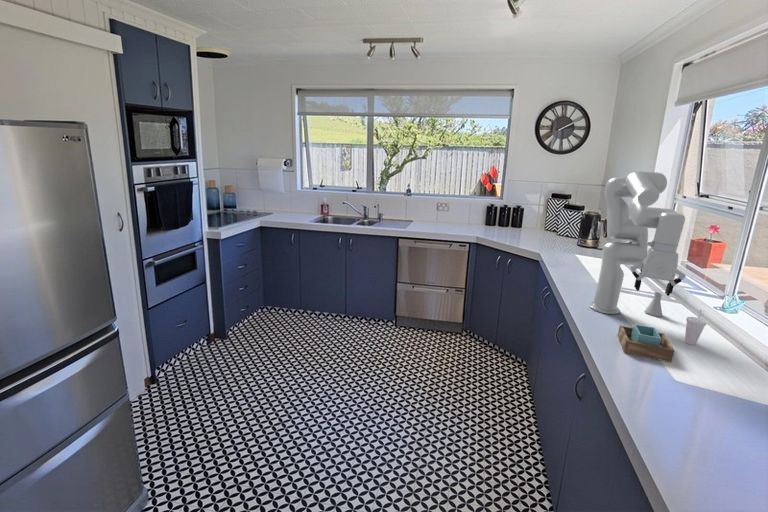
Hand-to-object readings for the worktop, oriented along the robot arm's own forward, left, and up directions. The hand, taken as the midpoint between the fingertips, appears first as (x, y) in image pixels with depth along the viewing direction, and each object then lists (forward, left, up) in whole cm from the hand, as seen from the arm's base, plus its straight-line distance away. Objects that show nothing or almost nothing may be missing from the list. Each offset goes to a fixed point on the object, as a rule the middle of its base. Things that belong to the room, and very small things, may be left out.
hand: (651, 292), depth 153 cm
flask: (-40, +13, -21) cm, 47 cm away
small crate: (+3, +1, -20) cm, 20 cm away
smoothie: (-12, +20, -21) cm, 31 cm away
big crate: (+3, +1, -21) cm, 21 cm away
